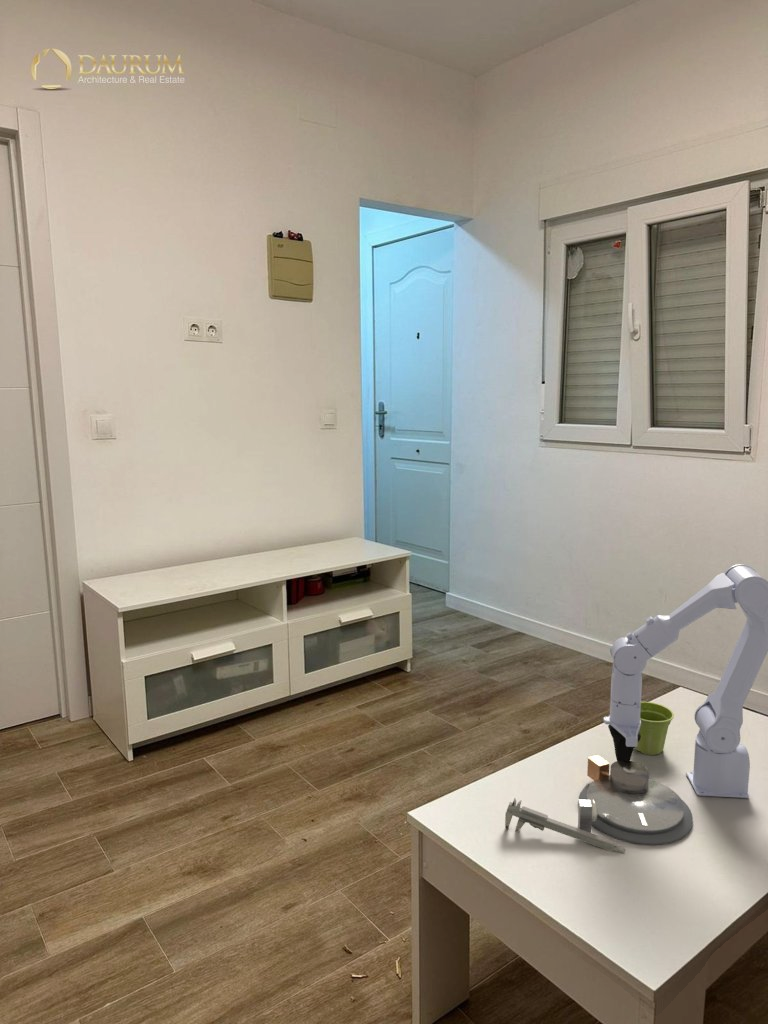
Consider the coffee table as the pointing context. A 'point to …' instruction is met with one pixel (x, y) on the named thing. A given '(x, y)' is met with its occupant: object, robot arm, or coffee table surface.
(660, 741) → the plant pot
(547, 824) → the caliper
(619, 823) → the turntable
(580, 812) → the block
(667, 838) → the plinth
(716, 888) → the coffee table surface
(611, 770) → the cover
